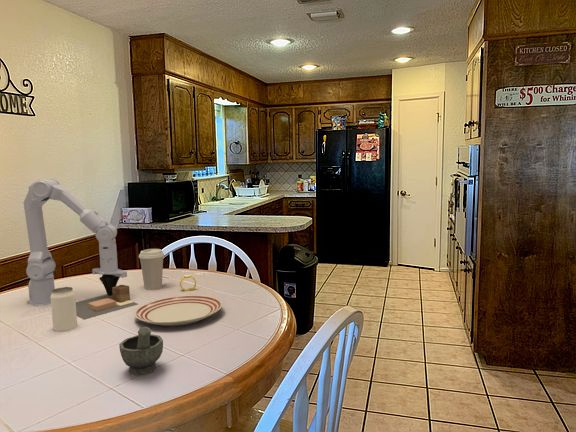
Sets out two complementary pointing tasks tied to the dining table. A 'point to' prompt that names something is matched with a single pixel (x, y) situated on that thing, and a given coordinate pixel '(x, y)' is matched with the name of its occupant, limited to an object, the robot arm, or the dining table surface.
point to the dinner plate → (178, 310)
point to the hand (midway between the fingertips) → (111, 294)
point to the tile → (102, 304)
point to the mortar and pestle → (141, 352)
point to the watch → (187, 277)
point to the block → (121, 293)
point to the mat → (88, 313)
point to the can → (63, 309)
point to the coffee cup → (152, 268)
